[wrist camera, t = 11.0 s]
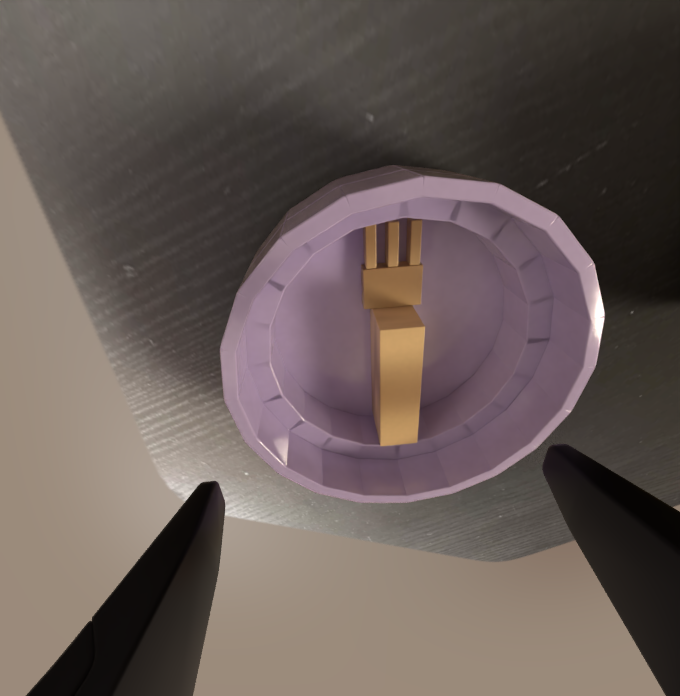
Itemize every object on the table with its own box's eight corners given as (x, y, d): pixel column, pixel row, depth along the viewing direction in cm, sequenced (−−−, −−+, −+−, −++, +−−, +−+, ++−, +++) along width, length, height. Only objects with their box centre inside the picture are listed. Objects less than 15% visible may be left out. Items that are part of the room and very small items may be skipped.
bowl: (187, 340, 19) (146, 408, 14) (389, 75, 14) (430, 43, 9) (387, 461, 25) (404, 537, 20) (582, 306, 20) (668, 360, 15)
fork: (411, 406, 22) (424, 442, 19) (365, 410, 22) (372, 447, 19) (421, 215, 16) (442, 230, 13) (359, 220, 16) (368, 236, 13)
